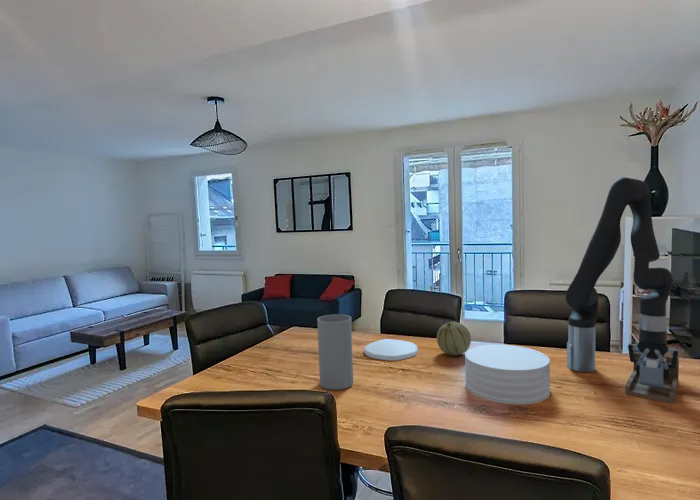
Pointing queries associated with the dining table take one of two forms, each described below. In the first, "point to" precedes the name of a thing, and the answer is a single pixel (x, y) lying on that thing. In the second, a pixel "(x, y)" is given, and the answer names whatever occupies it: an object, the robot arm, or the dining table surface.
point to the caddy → (651, 372)
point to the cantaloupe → (453, 338)
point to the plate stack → (507, 374)
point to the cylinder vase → (335, 351)
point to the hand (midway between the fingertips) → (652, 377)
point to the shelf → (650, 392)
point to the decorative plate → (391, 349)
